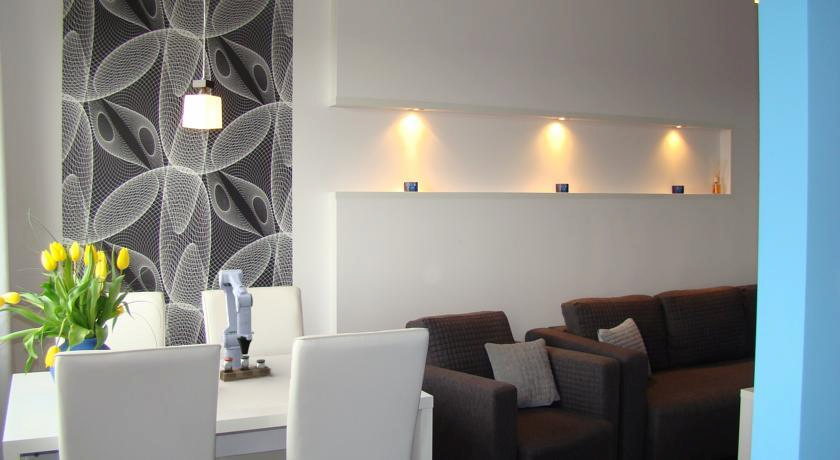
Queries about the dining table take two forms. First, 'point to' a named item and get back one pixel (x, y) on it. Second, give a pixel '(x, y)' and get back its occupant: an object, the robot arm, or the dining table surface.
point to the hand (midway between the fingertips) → (244, 354)
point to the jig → (244, 373)
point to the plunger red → (228, 364)
